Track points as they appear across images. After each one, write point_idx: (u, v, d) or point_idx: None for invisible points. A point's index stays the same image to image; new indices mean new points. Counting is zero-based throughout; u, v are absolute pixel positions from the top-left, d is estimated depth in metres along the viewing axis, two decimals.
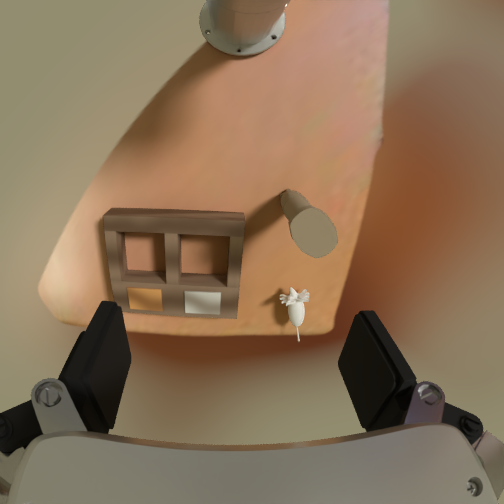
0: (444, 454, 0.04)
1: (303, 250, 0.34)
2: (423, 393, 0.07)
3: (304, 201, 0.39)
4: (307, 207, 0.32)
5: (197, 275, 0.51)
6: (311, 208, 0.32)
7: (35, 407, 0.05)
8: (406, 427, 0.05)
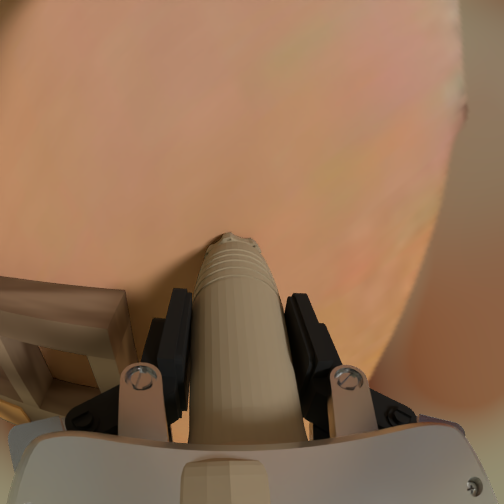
0: (444, 454, 0.04)
1: None
2: (341, 379, 0.08)
3: (251, 312, 0.10)
4: (196, 498, 0.03)
5: (75, 389, 0.22)
6: None
7: (129, 392, 0.07)
8: (406, 427, 0.05)
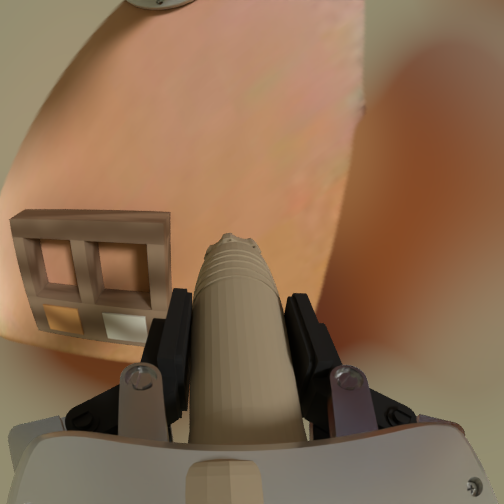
0: (444, 454, 0.04)
1: None
2: (341, 379, 0.08)
3: (251, 313, 0.10)
4: (196, 498, 0.03)
5: (121, 292, 0.38)
6: None
7: (129, 392, 0.07)
8: (406, 427, 0.05)
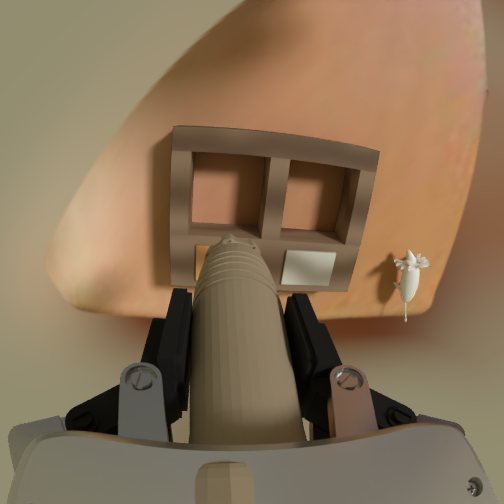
0: (444, 454, 0.04)
1: None
2: (341, 379, 0.08)
3: (251, 315, 0.10)
4: (197, 499, 0.03)
5: (297, 231, 0.36)
6: None
7: (129, 392, 0.07)
8: (406, 427, 0.05)
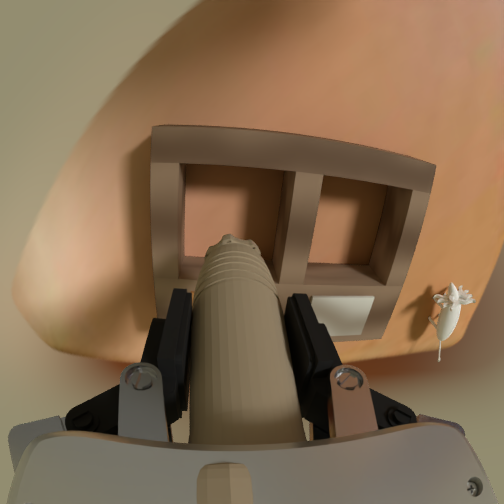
0: (444, 454, 0.04)
1: None
2: (341, 379, 0.08)
3: (251, 315, 0.10)
4: (197, 500, 0.03)
5: (324, 266, 0.27)
6: None
7: (129, 392, 0.07)
8: (406, 427, 0.05)
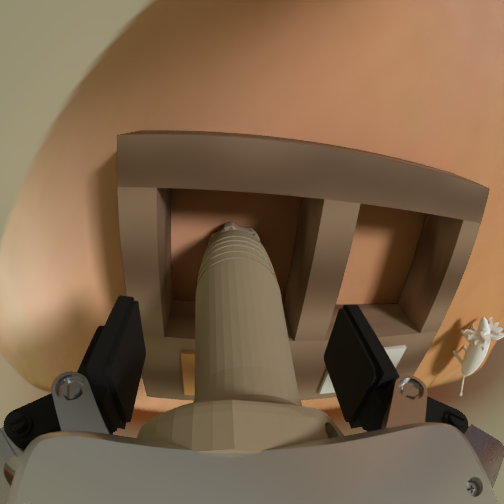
0: (444, 454, 0.04)
1: None
2: (404, 387, 0.08)
3: (250, 289, 0.11)
4: (203, 431, 0.05)
5: None
6: (224, 447, 0.04)
7: (56, 401, 0.06)
8: (406, 427, 0.05)
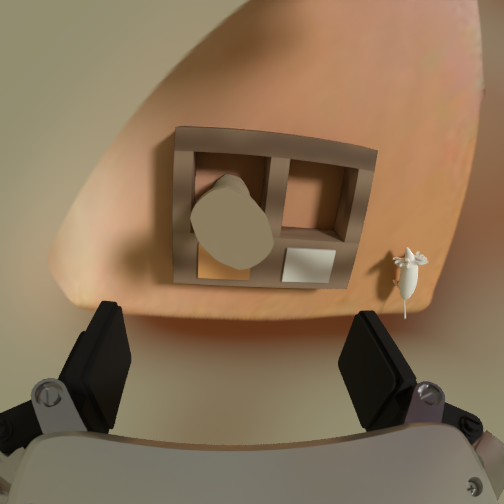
0: (444, 454, 0.04)
1: (216, 257, 0.22)
2: (423, 393, 0.07)
3: (235, 185, 0.27)
4: (217, 187, 0.20)
5: (297, 229, 0.37)
6: (223, 188, 0.20)
7: (35, 407, 0.05)
8: (406, 427, 0.05)
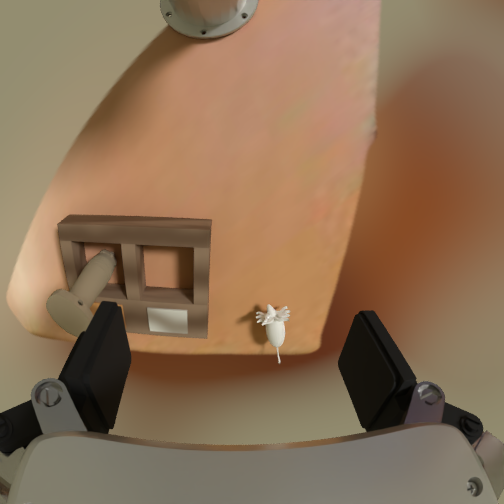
0: (444, 454, 0.04)
1: (66, 330, 0.29)
2: (423, 393, 0.07)
3: (88, 273, 0.34)
4: (55, 292, 0.27)
5: (162, 289, 0.44)
6: (56, 294, 0.27)
7: (35, 407, 0.05)
8: (406, 427, 0.05)
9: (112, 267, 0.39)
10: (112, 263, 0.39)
